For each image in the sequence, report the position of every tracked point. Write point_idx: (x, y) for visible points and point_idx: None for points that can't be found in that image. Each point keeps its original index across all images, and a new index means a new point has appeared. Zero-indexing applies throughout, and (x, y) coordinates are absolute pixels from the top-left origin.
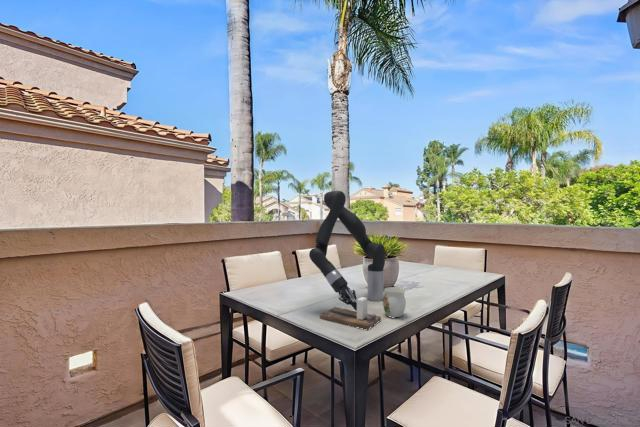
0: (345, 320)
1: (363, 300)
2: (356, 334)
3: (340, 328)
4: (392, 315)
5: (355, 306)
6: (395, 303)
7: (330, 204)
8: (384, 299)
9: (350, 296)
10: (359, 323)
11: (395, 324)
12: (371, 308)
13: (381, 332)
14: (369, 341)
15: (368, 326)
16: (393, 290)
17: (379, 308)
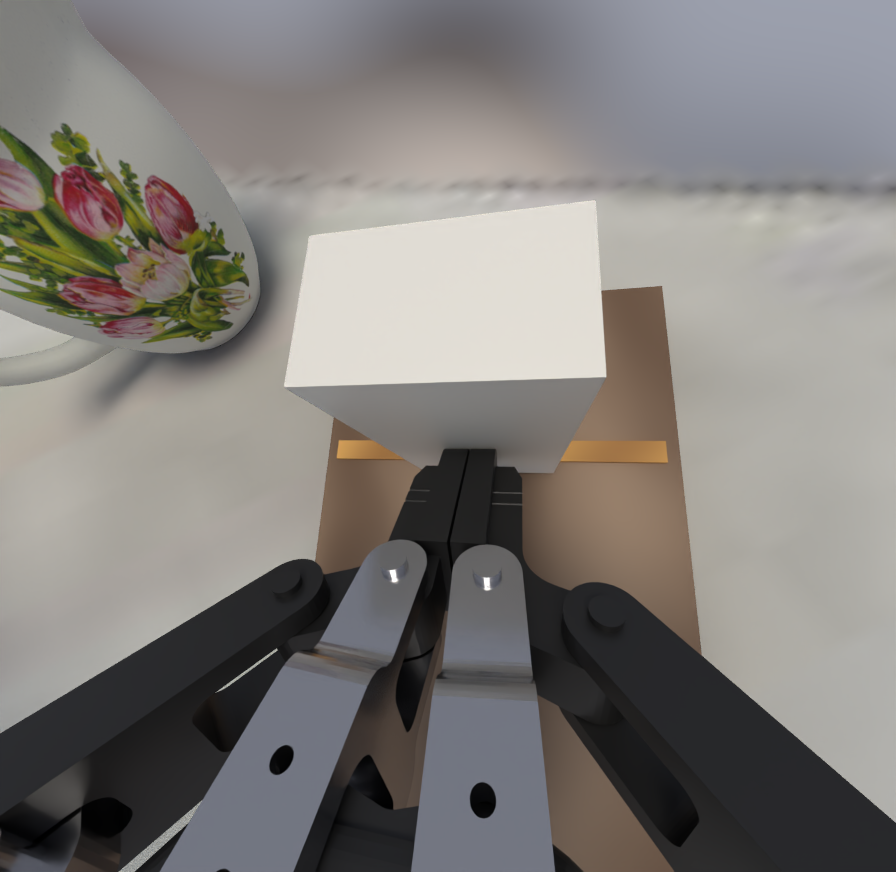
0: (686, 585)
1: (529, 216)
2: (820, 349)
3: (813, 579)
4: (256, 268)
5: (520, 495)
6: (166, 118)
7: None
8: (84, 234)
9: (496, 726)
10: (653, 388)
11: (381, 217)
12: (100, 538)
13: (603, 214)
14: (869, 190)
15: (639, 293)
16: None
17: (84, 472)
